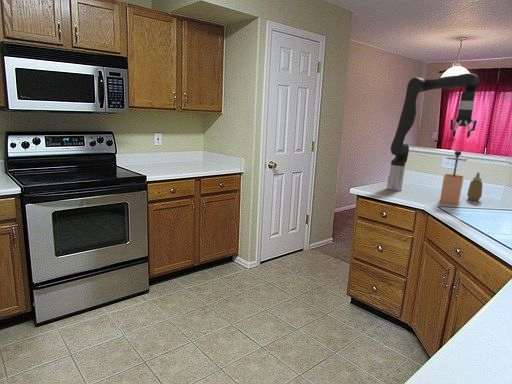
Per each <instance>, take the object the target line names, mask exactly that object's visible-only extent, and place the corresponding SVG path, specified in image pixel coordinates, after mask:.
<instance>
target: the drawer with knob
mask: <svg viewBox="0 0 512 384" xmlns="http://www.w3.org/2000/svg"><path fill="white" fill-rule="evenodd" d="M461 155H462V151H461V150H455V152H454V156H451V155H450V156H449V155H448V156H447V157H446V160H453V161H454V160H455V161H454V166H453V167H454V168H453V172H452V173H453V174H452V175H453V177H455V175H456V174H457V167H458V161H464V162H466V161H467V160H468V157H462V156H461ZM460 156H461V157H460Z"/></svg>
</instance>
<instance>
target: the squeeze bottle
mask: <svg viewBox="0 0 512 384" xmlns="http://www.w3.org/2000/svg"><path fill="white" fill-rule="evenodd" d="M480 175H481V174H480V172H476V175H475V177H473V178H472V180H471V181H470V183H469V187H468V190H467V193H466V195H467V199H468V200H469V201H472V202H478V201H479V200H481V198H482V196H483V182H482V178H481V176H480ZM479 202H480V201H479Z"/></svg>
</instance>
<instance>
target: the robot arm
mask: <svg viewBox="0 0 512 384" xmlns="http://www.w3.org/2000/svg"><path fill="white" fill-rule="evenodd" d="M479 84H480V77H479V76H478V75H477V74H475V73H463V74H459V75H450V76H442V77H438V78H432V79H431V78H430V79H429V78H428V79H427V78H422V77H416V76H415V77H412V78H411V79H410V80H408V83H407V85H406V93H405V98H404V101H403V102H404V103H403V106H402V110H401V112H400V116H399V121H398V125H397V128H396V131H395V134H394V137H393V140H392V142H391V145H390V153H391V154H392V155H393V156H395V157H394V158H392V159H391V161H390V168H389V175H388V177H387V183H386V185H387V186H386V189H387V190H391V191H398V192H399V191H402V190H403V182H404V175H405V168H406V163H407V161H408V158H409V157H408V156H409V150H410V147H409V144H408V142H405V138H406V137H407V134H408V133H409V131H410V130H411V129H412V127H413V126H414V123H415V120H416V115H417V98H418V95H419V94H420V93H422V92H427V91H431V90H439V89H440V90H441V89H453V88H459V87H464V90H462V92H461V96H460V99H459V105H458V110H457V114H456V115H457V117H456V119H454V118H451V119H450V125H449V127H450V128H449V129H450V130H452V137H453V138H454V137H456V133H457V129H458V128H459V127H466V128H467V134H466V138H467V139H468V138H470V136H471V132H474V131H475V130H476V126H477V123H478V120H473V119H472V117H473V110H474V102H475V96H476V92H477V90H478V87H479ZM455 122H456V126H454V123H455ZM471 123H472V124H473V126H472V128H471V127H470V124H471Z"/></svg>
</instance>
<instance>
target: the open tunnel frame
mask: <svg viewBox="0 0 512 384" xmlns="http://www.w3.org/2000/svg"><path fill="white" fill-rule="evenodd" d="M464 178H465V177H464V175H456V174H455V177H453V174H451V173H450V174H449V173H445V174H444V175H443V180H442V186H441V193H440V197H439V198H440V199H439V202H443V203H449V204H450V203H451V204H456V205H459V203H460V201H461V195H462V189H463V183H464Z"/></svg>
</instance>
